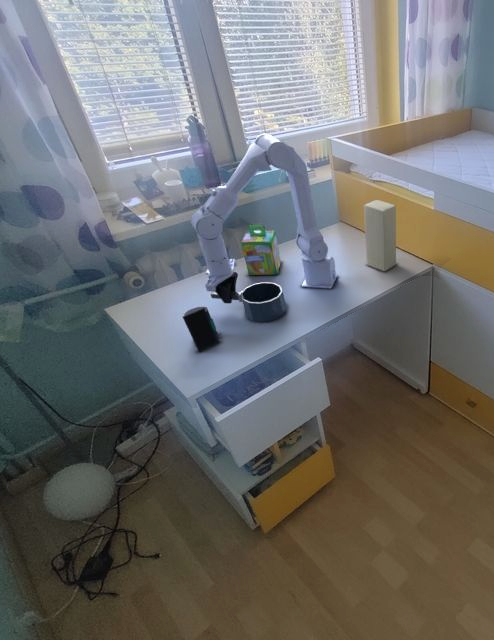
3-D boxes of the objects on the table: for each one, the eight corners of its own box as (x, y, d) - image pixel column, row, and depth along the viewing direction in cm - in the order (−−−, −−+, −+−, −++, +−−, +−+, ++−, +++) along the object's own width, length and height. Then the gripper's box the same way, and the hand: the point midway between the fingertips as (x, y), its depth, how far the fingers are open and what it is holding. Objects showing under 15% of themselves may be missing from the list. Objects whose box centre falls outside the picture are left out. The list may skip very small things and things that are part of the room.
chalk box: (248, 275, 138) (236, 232, 128) (254, 262, 145) (243, 220, 135) (278, 275, 139) (268, 232, 129) (282, 261, 146) (273, 220, 136)
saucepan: (291, 301, 127) (287, 283, 123) (278, 323, 119) (274, 304, 115) (225, 297, 128) (219, 278, 124) (208, 318, 119) (201, 299, 115)
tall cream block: (398, 263, 148) (397, 204, 135) (385, 272, 143) (383, 211, 130) (380, 257, 151) (377, 198, 138) (366, 265, 146) (362, 205, 133)
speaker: (222, 345, 110) (208, 310, 104) (198, 352, 108) (182, 318, 102) (218, 331, 116) (204, 298, 110) (195, 338, 114) (180, 304, 107)
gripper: (213, 243, 119) (226, 285, 127) (187, 269, 107) (204, 313, 116) (238, 245, 119) (250, 287, 127) (215, 271, 107) (229, 315, 116)
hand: (229, 299), depth 122 cm, fingers closed on saucepan, 2 cm apart
